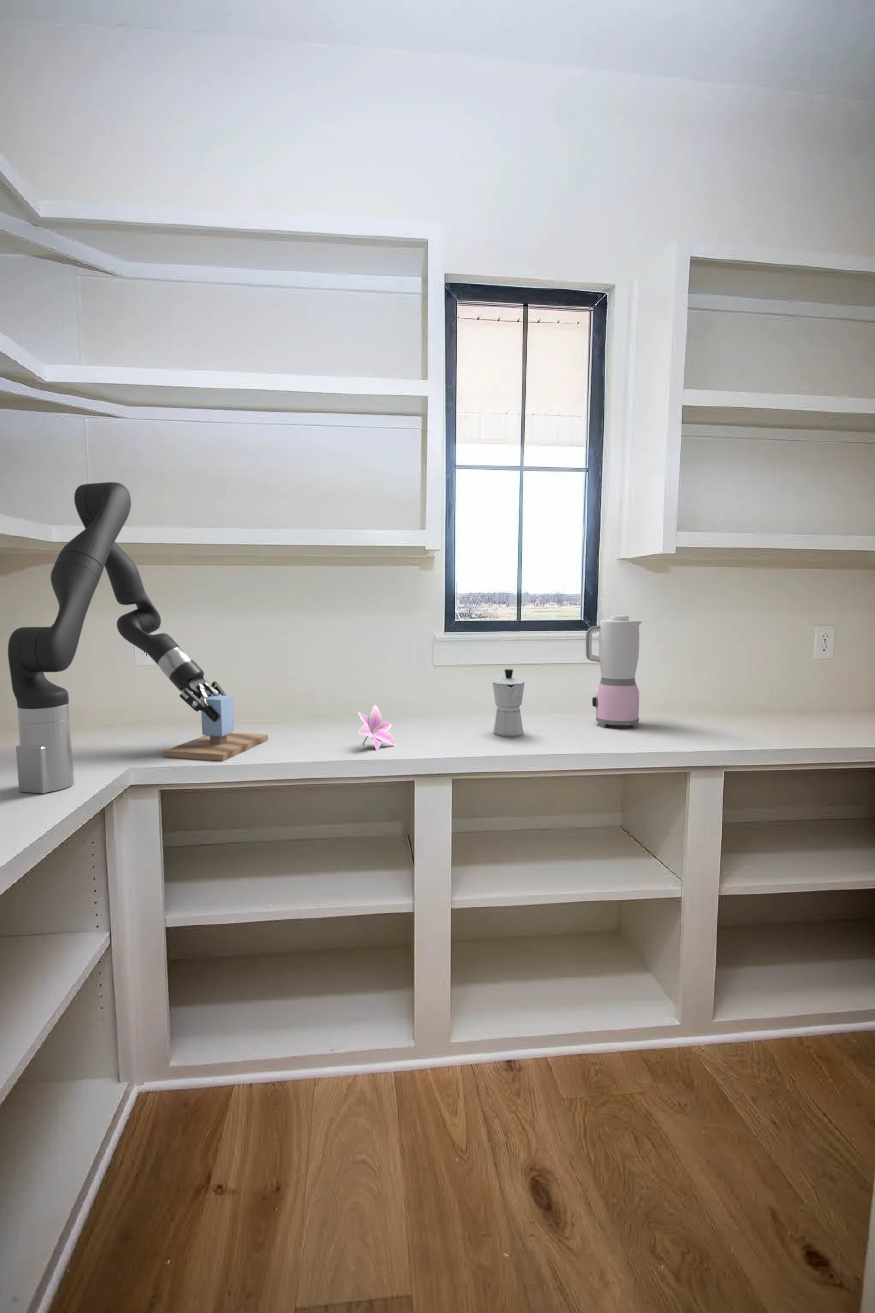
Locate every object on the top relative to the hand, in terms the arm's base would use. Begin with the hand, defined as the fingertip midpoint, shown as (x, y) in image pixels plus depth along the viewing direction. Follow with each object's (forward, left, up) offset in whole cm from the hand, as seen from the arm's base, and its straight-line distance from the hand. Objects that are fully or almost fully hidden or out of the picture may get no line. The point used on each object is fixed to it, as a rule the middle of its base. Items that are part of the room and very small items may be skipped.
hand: (224, 717), depth 174 cm
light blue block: (0, +2, -4) cm, 5 cm away
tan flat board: (0, +2, -8) cm, 8 cm away
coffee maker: (+35, -67, -8) cm, 76 cm away
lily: (+11, -36, -8) cm, 39 cm away
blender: (+52, -95, -8) cm, 109 cm away
